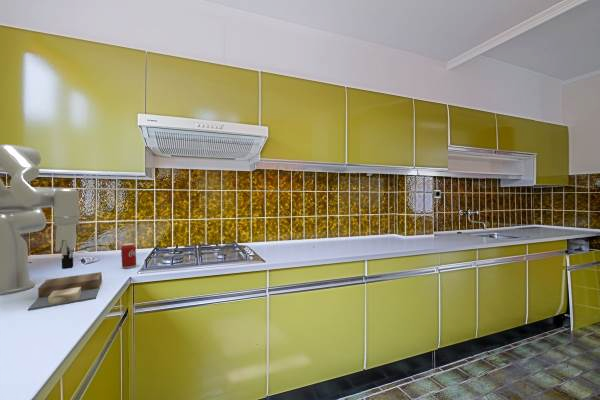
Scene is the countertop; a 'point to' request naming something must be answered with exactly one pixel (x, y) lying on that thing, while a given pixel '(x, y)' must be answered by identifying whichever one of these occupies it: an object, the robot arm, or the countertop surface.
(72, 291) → the beech tile
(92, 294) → the rubber mat
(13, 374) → the countertop surface
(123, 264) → the beverage can
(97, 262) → the countertop surface
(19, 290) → the robot arm
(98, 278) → the walnut deck
